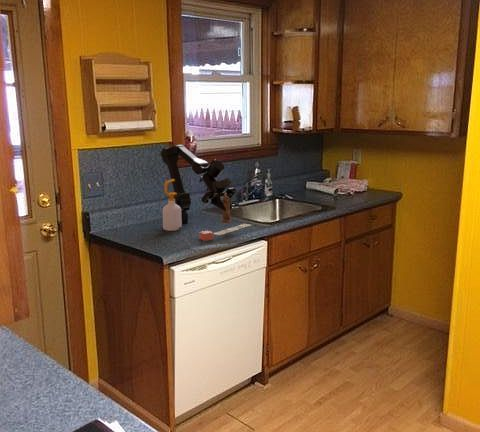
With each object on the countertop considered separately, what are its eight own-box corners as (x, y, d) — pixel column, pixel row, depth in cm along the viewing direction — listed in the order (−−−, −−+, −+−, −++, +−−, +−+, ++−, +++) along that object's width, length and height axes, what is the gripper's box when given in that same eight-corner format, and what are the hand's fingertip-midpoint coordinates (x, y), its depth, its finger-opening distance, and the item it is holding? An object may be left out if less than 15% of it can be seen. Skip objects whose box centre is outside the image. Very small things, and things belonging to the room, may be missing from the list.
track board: (224, 239, 238) (224, 236, 237) (206, 235, 244) (206, 232, 244) (257, 228, 258) (257, 225, 258) (240, 225, 264) (240, 222, 264)
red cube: (204, 243, 231) (204, 234, 230) (199, 241, 234) (199, 231, 233) (213, 242, 233) (213, 232, 232) (207, 240, 237) (207, 230, 236)
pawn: (222, 222, 243) (222, 196, 241) (220, 220, 247) (220, 195, 245) (231, 222, 244) (231, 196, 242) (229, 220, 249) (229, 194, 246)
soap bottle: (183, 230, 255) (182, 180, 249) (165, 231, 251) (163, 181, 246) (179, 225, 263) (177, 177, 257) (161, 227, 260) (159, 178, 254)
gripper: (205, 175, 237) (222, 202, 232) (234, 171, 250) (250, 196, 245) (194, 190, 244) (210, 216, 239) (222, 185, 257) (238, 210, 252)
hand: (228, 209), depth 244 cm, fingers closed on pawn, 4 cm apart
